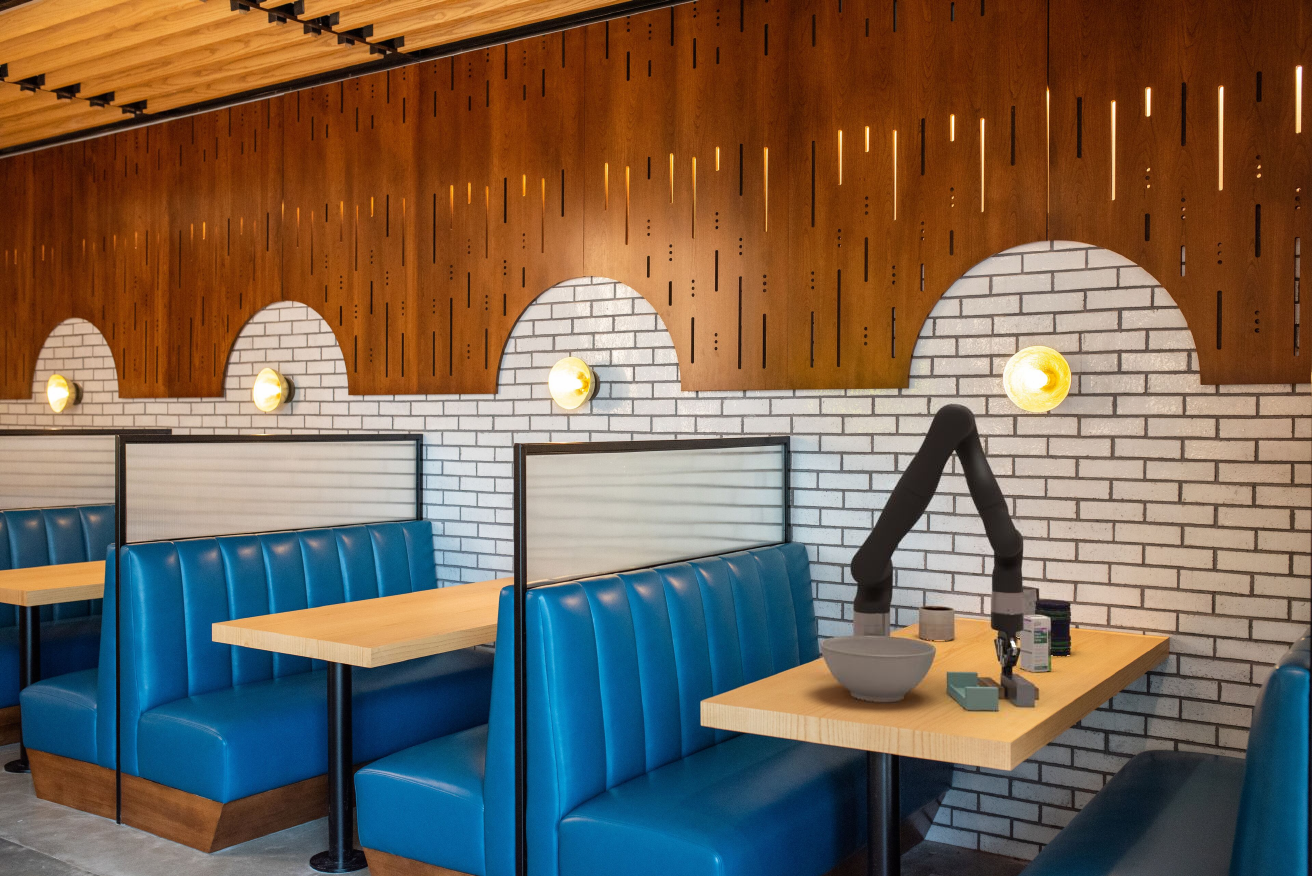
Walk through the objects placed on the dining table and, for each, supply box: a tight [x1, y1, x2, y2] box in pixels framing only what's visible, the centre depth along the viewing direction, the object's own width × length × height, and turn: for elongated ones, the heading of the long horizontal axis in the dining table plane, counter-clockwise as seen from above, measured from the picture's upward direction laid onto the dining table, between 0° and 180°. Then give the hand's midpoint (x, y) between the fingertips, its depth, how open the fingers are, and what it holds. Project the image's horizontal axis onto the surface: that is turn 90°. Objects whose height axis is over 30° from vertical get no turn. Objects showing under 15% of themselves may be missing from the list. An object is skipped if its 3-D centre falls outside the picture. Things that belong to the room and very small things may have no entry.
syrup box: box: [1019, 615, 1052, 673], centre depth 275 cm, size 6×6×14 cm
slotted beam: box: [978, 676, 1040, 700], centre depth 248 cm, size 11×12×2 cm
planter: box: [918, 605, 956, 641], centre depth 323 cm, size 11×11×10 cm
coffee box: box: [1016, 584, 1040, 637], centre depth 326 cm, size 9×6×16 cm
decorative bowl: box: [819, 635, 937, 703], centre depth 244 cm, size 27×27×12 cm
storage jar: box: [1035, 599, 1072, 656], centre depth 299 cm, size 10×10×15 cm
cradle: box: [946, 671, 999, 712], centre depth 239 cm, size 7×18×5 cm, turn 178°
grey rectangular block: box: [999, 673, 1036, 708], centre depth 240 cm, size 4×12×5 cm, turn 179°
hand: (1006, 682), depth 248 cm, fingers closed
